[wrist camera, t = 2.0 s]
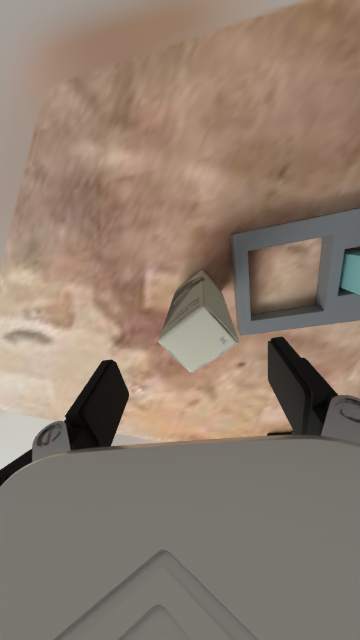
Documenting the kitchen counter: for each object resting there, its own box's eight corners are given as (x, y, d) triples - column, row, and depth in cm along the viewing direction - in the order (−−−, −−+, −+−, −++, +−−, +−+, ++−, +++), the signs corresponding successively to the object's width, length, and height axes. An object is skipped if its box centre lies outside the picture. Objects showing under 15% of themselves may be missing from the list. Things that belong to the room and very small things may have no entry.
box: (202, 267, 25) (207, 300, 13) (222, 292, 26) (244, 342, 14) (172, 293, 26) (154, 342, 15) (193, 315, 28) (191, 376, 16)
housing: (402, 198, 20) (422, 195, 18) (374, 310, 25) (388, 316, 24) (230, 234, 23) (233, 235, 21) (237, 328, 28) (240, 335, 26)
